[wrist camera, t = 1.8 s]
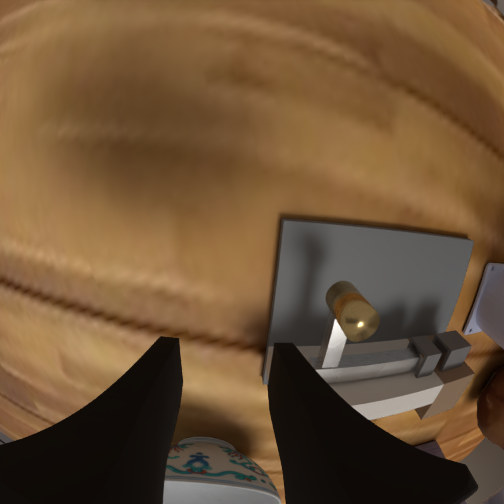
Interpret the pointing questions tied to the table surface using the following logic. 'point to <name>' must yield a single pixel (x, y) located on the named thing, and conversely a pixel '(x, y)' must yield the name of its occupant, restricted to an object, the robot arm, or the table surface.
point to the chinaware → (214, 475)
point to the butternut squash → (492, 408)
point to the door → (377, 308)
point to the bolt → (355, 329)
